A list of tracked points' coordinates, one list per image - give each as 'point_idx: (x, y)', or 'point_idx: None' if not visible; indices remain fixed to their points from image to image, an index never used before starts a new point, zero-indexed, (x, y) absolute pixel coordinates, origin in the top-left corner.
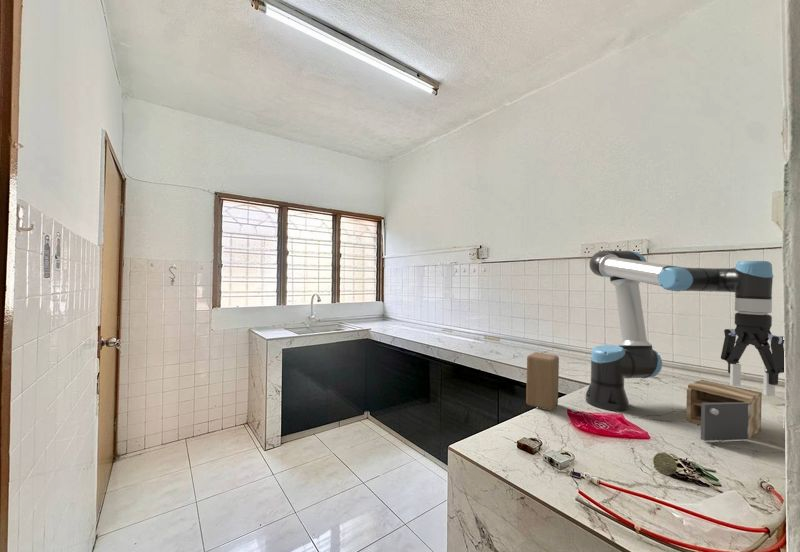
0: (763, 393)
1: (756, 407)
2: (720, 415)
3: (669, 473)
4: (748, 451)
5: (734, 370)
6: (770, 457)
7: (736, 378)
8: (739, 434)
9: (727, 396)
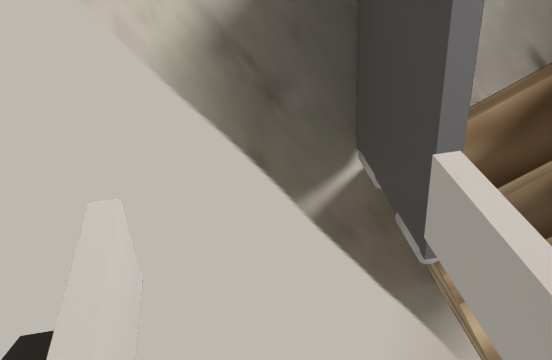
0: (113, 207)
1: (465, 326)
2: (411, 32)
3: None
4: (265, 53)
5: (530, 299)
6: (212, 103)
7: (466, 247)
8: (365, 116)
9: (550, 243)
